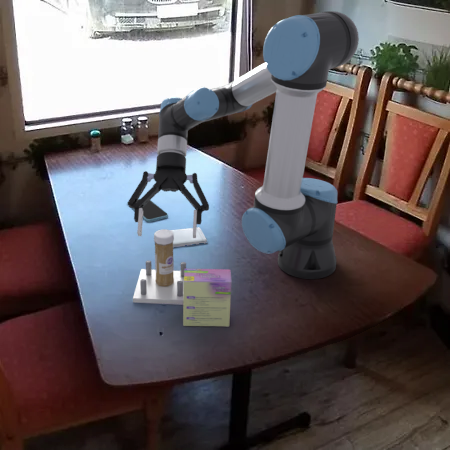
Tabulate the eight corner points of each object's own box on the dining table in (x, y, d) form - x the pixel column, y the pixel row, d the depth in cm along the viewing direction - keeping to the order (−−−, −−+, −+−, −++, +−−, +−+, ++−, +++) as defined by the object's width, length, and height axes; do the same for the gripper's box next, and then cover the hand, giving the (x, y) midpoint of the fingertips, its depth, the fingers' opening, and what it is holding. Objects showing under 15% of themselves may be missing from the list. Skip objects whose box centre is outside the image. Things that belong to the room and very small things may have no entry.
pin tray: (192, 275, 162) (193, 259, 160) (188, 304, 150) (188, 287, 148) (141, 273, 162) (140, 257, 160) (133, 302, 150) (132, 285, 148)
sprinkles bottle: (167, 288, 154) (166, 239, 147) (151, 283, 156) (150, 234, 149) (177, 280, 157) (177, 231, 151) (162, 275, 159) (161, 226, 153)
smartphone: (147, 197, 201) (169, 214, 190) (147, 200, 201) (169, 218, 190) (125, 201, 198) (147, 220, 186) (126, 205, 198) (147, 223, 187)
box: (228, 312, 148) (230, 268, 143) (229, 327, 143) (231, 282, 138) (183, 311, 148) (183, 267, 142) (182, 326, 143) (183, 281, 137)
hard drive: (162, 245, 173) (207, 239, 176) (156, 231, 180) (199, 226, 183) (162, 250, 174) (207, 244, 177) (156, 236, 181) (199, 231, 184)
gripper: (220, 163, 169) (217, 241, 163) (125, 160, 169) (118, 238, 163) (220, 152, 162) (217, 232, 156) (121, 148, 162) (114, 229, 156)
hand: (166, 235), depth 159 cm, fingers open, 13 cm apart
